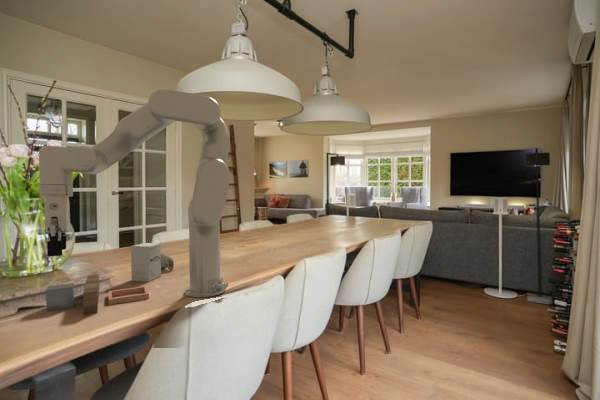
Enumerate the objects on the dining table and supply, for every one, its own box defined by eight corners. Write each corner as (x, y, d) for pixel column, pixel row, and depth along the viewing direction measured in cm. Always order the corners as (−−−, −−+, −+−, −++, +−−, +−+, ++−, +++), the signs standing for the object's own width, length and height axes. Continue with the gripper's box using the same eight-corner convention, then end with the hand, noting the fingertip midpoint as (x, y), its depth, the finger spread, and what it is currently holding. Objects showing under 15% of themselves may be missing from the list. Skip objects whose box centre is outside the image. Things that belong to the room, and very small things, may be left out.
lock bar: (74, 303, 98) (73, 283, 98) (73, 307, 95) (72, 286, 94) (49, 307, 95) (48, 286, 95) (46, 311, 92) (46, 290, 91)
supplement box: (149, 281, 120) (148, 246, 119) (130, 280, 121) (130, 245, 120) (161, 276, 127) (161, 242, 126) (144, 275, 128) (143, 242, 128)
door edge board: (97, 312, 91) (96, 290, 90) (84, 315, 89) (83, 292, 89) (99, 292, 108) (98, 273, 108) (88, 293, 107) (87, 274, 106)
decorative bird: (166, 273, 132) (165, 254, 132) (143, 267, 141) (143, 249, 141) (178, 270, 136) (177, 251, 136) (155, 264, 146) (155, 247, 145)
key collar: (146, 290, 110) (146, 286, 110) (149, 298, 102) (149, 293, 102) (108, 295, 104) (108, 291, 104) (108, 304, 97) (108, 299, 97)
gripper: (69, 192, 88) (70, 257, 88) (75, 190, 103) (76, 246, 103) (33, 191, 84) (34, 260, 85) (44, 190, 99) (45, 248, 100)
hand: (57, 252), depth 94 cm, fingers open, 9 cm apart
